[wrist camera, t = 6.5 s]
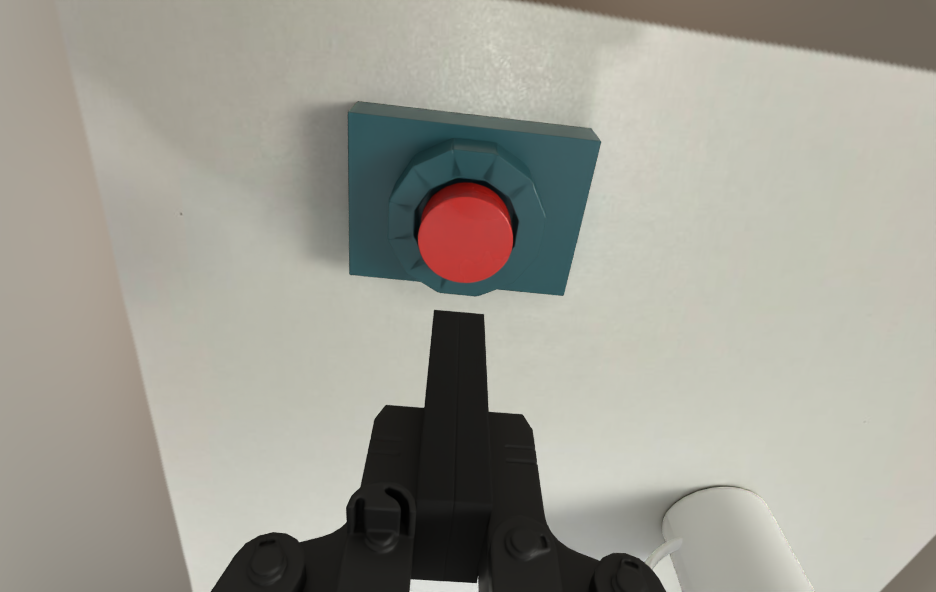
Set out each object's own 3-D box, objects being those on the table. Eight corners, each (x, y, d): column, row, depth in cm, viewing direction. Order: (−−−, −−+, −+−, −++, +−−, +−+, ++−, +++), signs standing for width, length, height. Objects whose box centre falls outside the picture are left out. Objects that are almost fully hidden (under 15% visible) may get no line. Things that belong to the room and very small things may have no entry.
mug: (788, 494, 38) (883, 652, 29) (734, 555, 42) (803, 710, 34) (633, 466, 37) (684, 623, 28) (593, 532, 41) (626, 688, 32)
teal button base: (357, 255, 28) (341, 293, 25) (357, 101, 24) (338, 122, 21) (557, 275, 29) (569, 315, 25) (591, 128, 25) (611, 153, 21)
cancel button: (418, 259, 24) (414, 278, 23) (424, 177, 22) (420, 191, 21) (503, 268, 25) (505, 287, 23) (517, 187, 22) (520, 202, 21)
